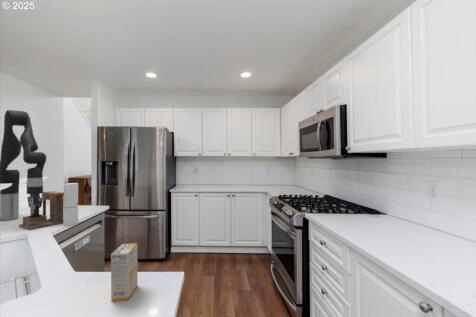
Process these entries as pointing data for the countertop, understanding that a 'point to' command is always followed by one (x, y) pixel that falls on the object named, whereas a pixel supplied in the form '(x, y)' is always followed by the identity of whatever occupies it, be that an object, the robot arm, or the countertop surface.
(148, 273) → the countertop surface
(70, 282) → the countertop surface
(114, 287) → the supplement box
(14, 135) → the robot arm
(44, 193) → the wooden frame stand
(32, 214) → the steel peg
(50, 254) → the countertop surface
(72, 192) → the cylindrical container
